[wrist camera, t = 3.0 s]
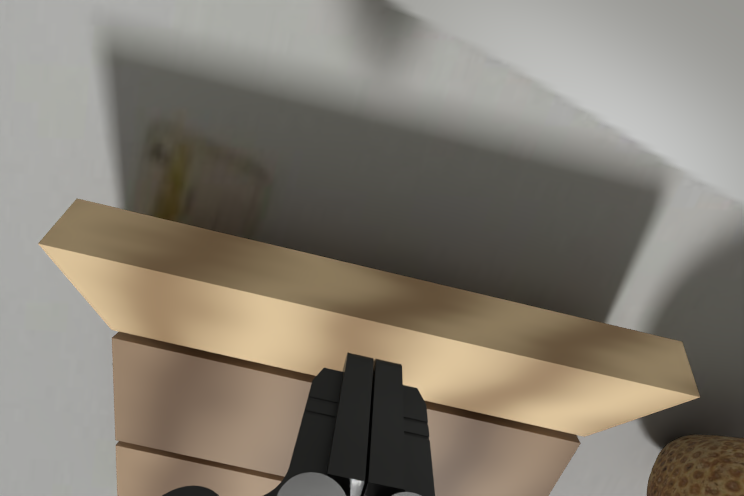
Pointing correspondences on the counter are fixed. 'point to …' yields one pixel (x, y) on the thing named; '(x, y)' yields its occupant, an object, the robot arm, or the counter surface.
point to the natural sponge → (699, 467)
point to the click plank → (363, 322)
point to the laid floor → (287, 429)
